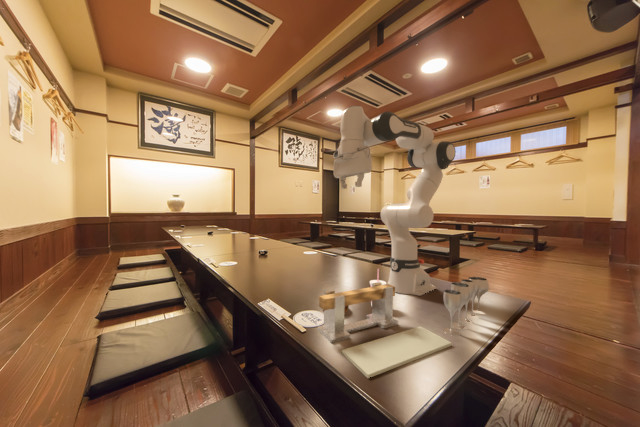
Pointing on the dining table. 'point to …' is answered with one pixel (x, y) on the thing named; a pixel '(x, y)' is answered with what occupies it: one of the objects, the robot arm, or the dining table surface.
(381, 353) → the mat
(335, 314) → the rack
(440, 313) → the dining table surface
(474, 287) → the goblet set
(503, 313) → the dining table surface
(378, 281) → the beverage cup
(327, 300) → the bar
